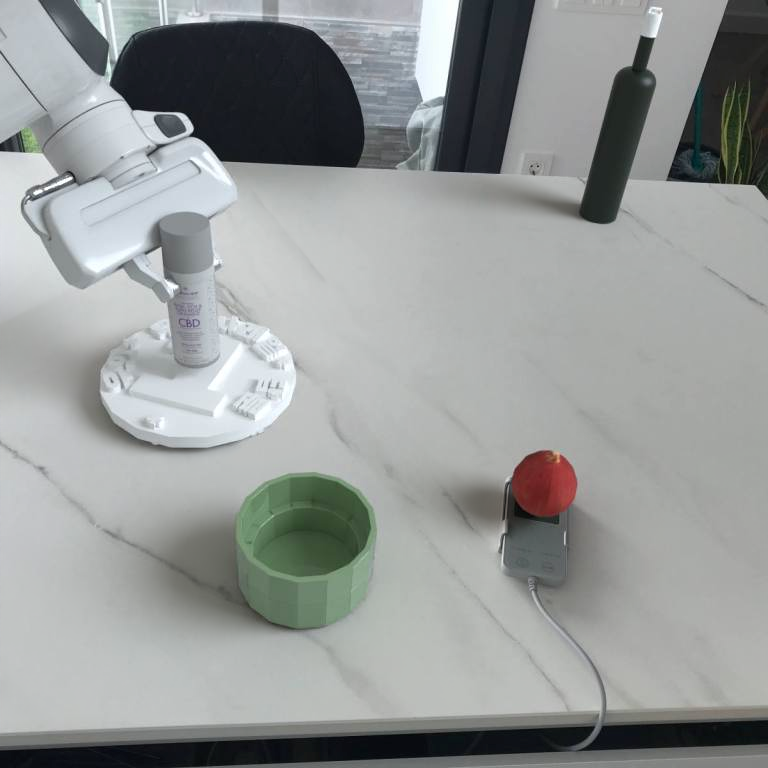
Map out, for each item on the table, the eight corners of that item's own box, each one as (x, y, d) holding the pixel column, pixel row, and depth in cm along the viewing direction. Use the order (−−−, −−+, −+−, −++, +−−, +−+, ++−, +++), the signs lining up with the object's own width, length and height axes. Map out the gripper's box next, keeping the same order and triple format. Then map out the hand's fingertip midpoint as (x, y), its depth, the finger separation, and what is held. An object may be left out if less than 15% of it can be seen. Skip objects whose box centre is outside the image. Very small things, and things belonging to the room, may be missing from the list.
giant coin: (62, 393, 80) (56, 370, 78) (202, 312, 93) (200, 291, 91) (199, 485, 72) (197, 463, 70) (332, 382, 85) (333, 361, 83)
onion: (493, 498, 73) (508, 438, 68) (542, 481, 76) (560, 420, 71) (528, 543, 70) (547, 482, 64) (579, 523, 72) (601, 463, 67)
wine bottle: (595, 226, 118) (654, 15, 99) (571, 209, 122) (624, 3, 102) (623, 220, 120) (687, 13, 101) (599, 203, 124) (656, 1, 105)
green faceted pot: (313, 657, 59) (314, 607, 55) (211, 580, 64) (205, 530, 60) (396, 566, 66) (403, 516, 62) (299, 503, 71) (299, 453, 67)
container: (181, 373, 77) (166, 239, 67) (167, 347, 80) (151, 215, 70) (226, 362, 79) (218, 230, 69) (211, 336, 82) (201, 207, 72)
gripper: (21, 178, 61) (128, 323, 64) (197, 109, 75) (278, 230, 78) (-3, 212, 66) (97, 346, 69) (167, 140, 80) (245, 254, 83)
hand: (195, 283), depth 74 cm, fingers closed on container, 4 cm apart
